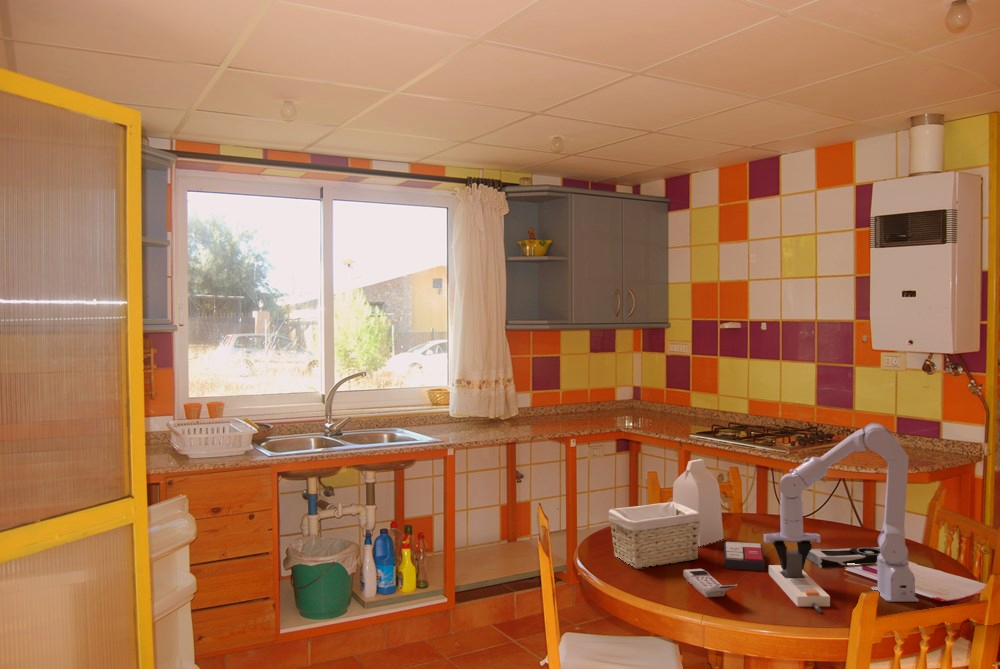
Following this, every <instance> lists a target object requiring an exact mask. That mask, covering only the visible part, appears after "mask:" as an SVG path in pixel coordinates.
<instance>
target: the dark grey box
mask: <svg viewBox="0 0 1000 669" xmlns="http://www.w3.org/2000/svg"><path fill="white" fill-rule="evenodd" d="M723 544H724V548H723V549H724V568H725V569H727V568H733V569H732V570H742V569H745V571H757V570H759V571H761V572H764V571H765V570H766V568H765V566H766V564H765V562H766V561H765V556H764V555H765V554H764V549H763V548H764V547H763V545H762V544H761V543H755V542H754V543H753V542H738V541H736V542H735V541H725V542H724V543H723Z"/></svg>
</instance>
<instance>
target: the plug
mask: <svg viewBox="0 0 1000 669" xmlns="http://www.w3.org/2000/svg"><path fill="white" fill-rule="evenodd" d="M782 573H783V576H784V577H785V578H802V554H801V553H799V552H798V549H787V551H786V570H783V569H782Z"/></svg>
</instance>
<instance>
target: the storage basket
mask: <svg viewBox="0 0 1000 669" xmlns="http://www.w3.org/2000/svg"><path fill="white" fill-rule="evenodd" d="M679 513H680V514H682V515H679ZM608 521H609V523H610V529H611V536H612V545H613V553H614V557H616V558H617V557H618V558H617V559H619V558H620V559H621V560H620V559H619V560H620V561H622V560H623V561H624V562H623V561H622V562H623V563H625V562H626V563H625V564H626V565H628V564H630V565H631V566H633V567H634V568H633V567H632V568H633V569H643V568H642V567H646V568H650V567H649V566H652V567H657V566H656V565H659V566H663V565H667V564H668V565H670V564H669V563H671V564H676V563H677V564H678V563H679V562H683V561H684V562H687V561H691V560H697V559H698V558H699V555H698V554H699V547H698V540H699V536H698V535H699V527H700V513H699V512H697V511H695V510H692V509H690V508H688V507H685V506H683V505H680V504H677V503H675V502H673V501H669V502H660V503H652V504H647V505H646V504H645V505H644V504H643V505H638V506H628V507H619V508H611V509H609V510H608ZM630 565H629V566H630ZM631 566H630V567H631Z"/></svg>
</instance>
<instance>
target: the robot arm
mask: <svg viewBox="0 0 1000 669" xmlns="http://www.w3.org/2000/svg"><path fill="white" fill-rule="evenodd" d="M866 448H868V450H870V451H873V453H876V454H878V455H880V456H881V457H882V458H883V459H884V460H885V461H886V462H887V467H886V468H887V469H886V470H887V471H886V486H885V498H884V499H885V501H884V514H883V516H884V518H883V523H882V530H881V532H880V534H879V535H878V537H877V545H878V547H880V552H881V553H880V554H879V555H878V556H877V565H876V566H877V567H876V568H877V574H876V575H877V586H872V587H871V590H873V591H874V590H878V591H879V592H880V595H879V596H880V597H881V599H883V600H885V601H886V602H888V603H889V602H891V603H892V602H894V603H895V602H903V603H904V602H909V603H910V602H919V598H918V597H916V577H915V575H914V573H913V571H912V570H911V569H910V566H909V558H908V555H909V549H908V547H907V545H906V531H905V517H906V504H907V491H908V490H907V489H908V477H909V476H908V474H909V456H908V454H907V453H906V451H905V450H904V449H903V447H902V445H901V444H900V443H899V441H898V440H897V438H896V436H895V435H894V434H893V432H892V431H891V430H889V429H888V428H887V427H886V426H884V424H882V423H878V422H871V423H869V424H866V425H865V427H864V428H860V429H858V430H856V431H855V432H853V433H851V434H850V435H848V436H847V437H846V438H844V439H843V440H841V441H840V442H839V443H838V444H836V445H835V446H834V447H832V448H830V449H829V450H828V451H827V452H826V453H824V454H823V455H822V456H820V457H819V456H818V457H817V456H811V457H810V458H809V457H806V458H804V459H803V462H802V464H800V465H799V466H797V467H796V468H791V469H790V470H789V473H785V474H784V475H783V476H782V477H781V478H780V481H779V490H780V497H779V498H780V501H779V510H780V511H779V514H780V515H779V517H780V518H779V519H780V526H779V527H780V532H772V533H763V542H764V543H765V544H770V543H772V545H773V546H774V548H775V550H776V553H777V555H778V558H779V562H780V565H781V568H782V569H783V570H786V551H787V550H788V547H787V545H786V543H796V546H797V551H798V552H799V553H801V554H802V570H803V571H804V568H805V563H806V560H807V555H808V553H809V552H810V550H811V549H813V548H812V547H813V545H812V543H821V535H820V534H819V533H812V532H804V516H803V514H804V512H803V510H804V509H803V506H804V505H803V501H802V494H803V490H804V489H805V488H806V489H807V488H809V487H811V486H812V485H813V484H815V483H817V482H818V481H819V480H821V479H822V478H824V477H826V476H827V475H828V472H829V470H828V468H829V467H832V466H833V465H835V464H836V463H837V462H838V463H839V461H841V460H842V459H844V458H845V457H847V456H850V455H851V454H852V453H854V452H867V449H866Z"/></svg>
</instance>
